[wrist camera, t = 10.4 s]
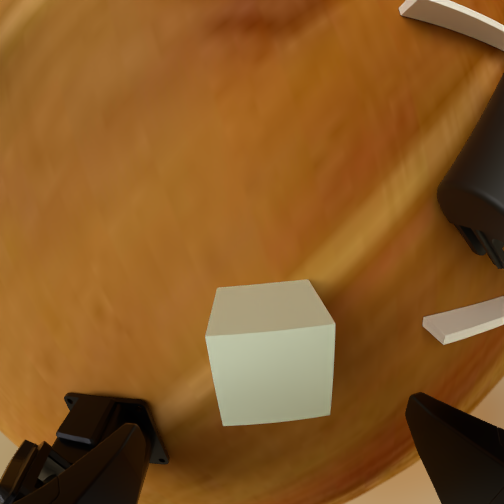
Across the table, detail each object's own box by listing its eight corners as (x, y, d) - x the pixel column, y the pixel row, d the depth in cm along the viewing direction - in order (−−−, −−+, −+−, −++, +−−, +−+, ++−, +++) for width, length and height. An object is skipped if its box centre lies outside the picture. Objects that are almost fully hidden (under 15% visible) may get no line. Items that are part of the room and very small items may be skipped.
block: (309, 355, 16) (330, 414, 11) (228, 362, 16) (223, 425, 11) (308, 278, 15) (335, 323, 10) (217, 287, 15) (205, 336, 10)
